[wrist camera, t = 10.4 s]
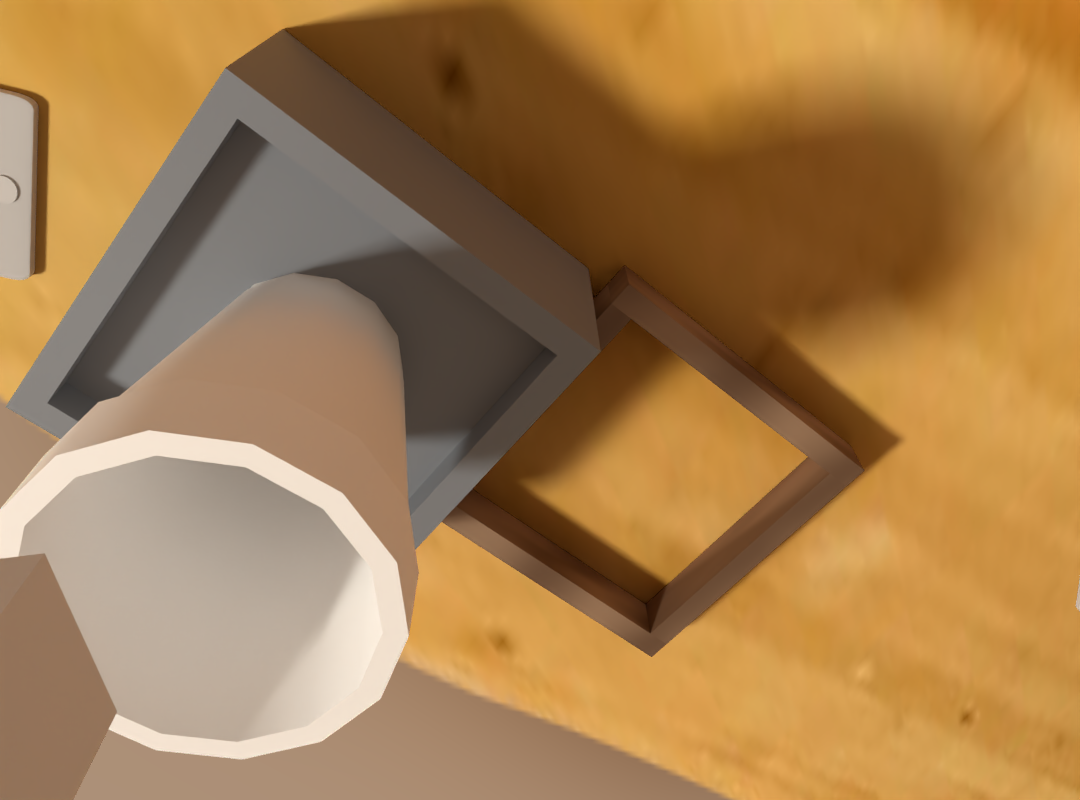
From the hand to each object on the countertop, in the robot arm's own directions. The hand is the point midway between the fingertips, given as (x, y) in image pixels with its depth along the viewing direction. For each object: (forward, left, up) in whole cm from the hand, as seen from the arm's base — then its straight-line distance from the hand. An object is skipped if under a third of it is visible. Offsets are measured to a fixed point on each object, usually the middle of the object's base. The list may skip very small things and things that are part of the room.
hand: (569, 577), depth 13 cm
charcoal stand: (+2, +10, -27) cm, 29 cm away
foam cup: (+2, +10, -21) cm, 23 cm away
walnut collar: (-13, +9, -27) cm, 31 cm away
